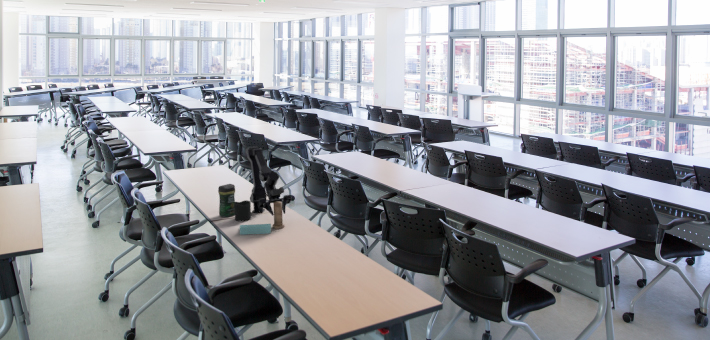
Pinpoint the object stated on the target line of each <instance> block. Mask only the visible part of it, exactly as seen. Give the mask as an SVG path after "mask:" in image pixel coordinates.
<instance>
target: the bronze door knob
mask: <svg viewBox="0 0 710 340" xmlns="http://www.w3.org/2000/svg"><path fill="white" fill-rule="evenodd" d="M272 204H273V214H274V215H273V224H272V229H275V230H278V229H280V230H282V229H284V228H285V224H284V223H283V210H282V202H280V201H276V202H274V203H272Z"/></svg>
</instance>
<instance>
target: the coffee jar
mask: <svg viewBox="0 0 710 340" xmlns="http://www.w3.org/2000/svg"><path fill="white" fill-rule="evenodd" d="M217 191H218V195H219V208H218V214H219V216H220V217H222V218H224V217H225V218H229V217H232V216H235V211H234V202H236V201H235V200H236V199H235V194H236V186H235V184H232V183H226V184H223V185H219V186H218V190H217Z"/></svg>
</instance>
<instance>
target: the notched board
mask: <svg viewBox="0 0 710 340" xmlns="http://www.w3.org/2000/svg"><path fill="white" fill-rule="evenodd" d="M271 232H272V224H271V223H257V224H255V223H254V224H240V225H239V235H244V236H245V235H258V234H259V235H261V234H264V235H265V234H271Z"/></svg>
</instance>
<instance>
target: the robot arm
mask: <svg viewBox="0 0 710 340" xmlns="http://www.w3.org/2000/svg"><path fill="white" fill-rule="evenodd" d="M262 148H263V147H262ZM262 148H261V147H260V148H259V146H248V147H247V148H246V149H245V155H246V157H247V159H248V161H249V162H250V167H251V174H252V175H251V176H252V184H253V187H252V189H251V194H250V197H249V201H250V202H251V204H252V205H253V209H252V211H251V213H262V214H263V213H264V212H265V210H266V211H267V212H269V214H271V216H273V217H274V210H273V208H272V206H271V204H273V203H274V202H276V201H280V202H282V214H286V205H288V204H291V201H292V200H293V197H292V195H291V194H285V195H283V197H281V195H282V194H284V193H285V189H284V186H281V187H280V186H279V188H277V187H276V185H277V183H278V181H279V178H280V175H279V174H278V173H277V172H275V171H274V170H272V168H271V167H269V166H268V164H267V162H266V159H265V156H264V153H263V152H264V151H263V149H262ZM263 182H264V184H263V185H264V186H263V185H262V183H263ZM267 198H268V199H267Z"/></svg>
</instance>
